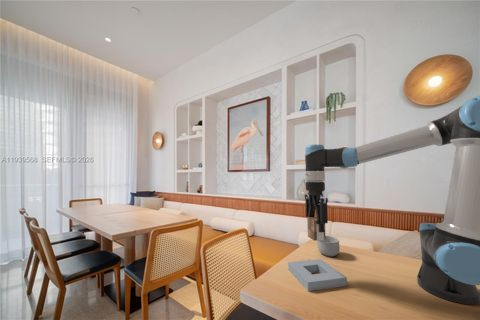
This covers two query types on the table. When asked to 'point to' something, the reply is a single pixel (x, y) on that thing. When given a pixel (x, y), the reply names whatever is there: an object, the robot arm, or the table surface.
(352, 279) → the table surface
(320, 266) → the housing
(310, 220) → the peg
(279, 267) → the table surface
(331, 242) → the teacup
